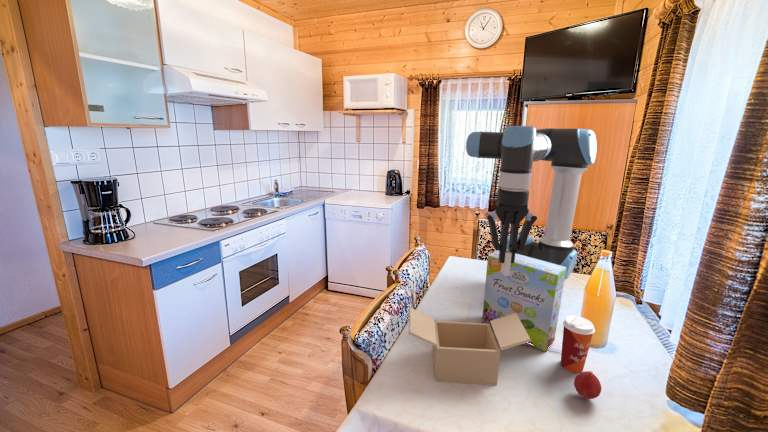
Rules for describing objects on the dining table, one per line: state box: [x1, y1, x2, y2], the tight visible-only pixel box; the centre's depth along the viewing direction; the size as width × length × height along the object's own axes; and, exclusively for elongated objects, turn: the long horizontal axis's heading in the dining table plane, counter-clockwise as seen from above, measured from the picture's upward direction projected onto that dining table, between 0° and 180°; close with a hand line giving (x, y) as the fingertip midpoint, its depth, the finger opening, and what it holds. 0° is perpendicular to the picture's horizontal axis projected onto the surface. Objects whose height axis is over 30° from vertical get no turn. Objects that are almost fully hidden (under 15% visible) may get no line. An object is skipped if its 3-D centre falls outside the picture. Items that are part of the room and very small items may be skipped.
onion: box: [573, 370, 602, 400], centre depth 86 cm, size 6×6×8 cm
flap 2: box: [490, 313, 531, 351], centre depth 93 cm, size 8×12×1 cm, turn 174°
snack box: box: [481, 250, 567, 353], centre depth 110 cm, size 22×9×26 cm, turn 47°
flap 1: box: [408, 306, 437, 346], centre depth 95 cm, size 8×12×1 cm, turn 177°
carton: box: [431, 320, 501, 386], centre depth 96 cm, size 16×13×10 cm
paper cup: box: [560, 315, 596, 374], centre depth 96 cm, size 8×8×14 cm
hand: (505, 273), depth 95 cm, fingers closed
